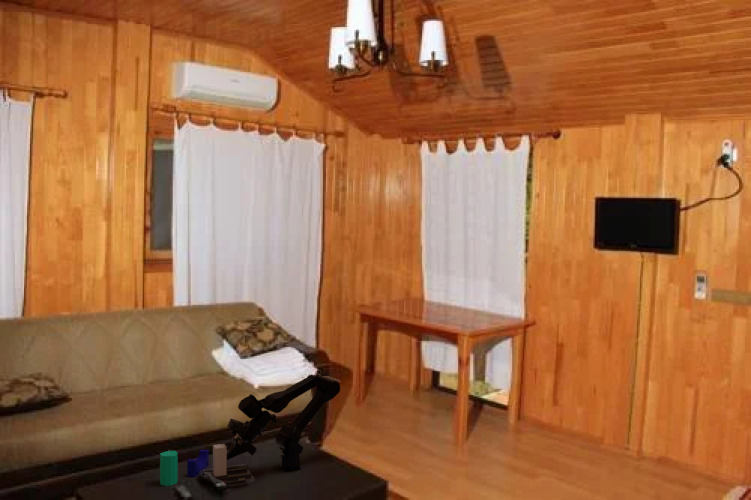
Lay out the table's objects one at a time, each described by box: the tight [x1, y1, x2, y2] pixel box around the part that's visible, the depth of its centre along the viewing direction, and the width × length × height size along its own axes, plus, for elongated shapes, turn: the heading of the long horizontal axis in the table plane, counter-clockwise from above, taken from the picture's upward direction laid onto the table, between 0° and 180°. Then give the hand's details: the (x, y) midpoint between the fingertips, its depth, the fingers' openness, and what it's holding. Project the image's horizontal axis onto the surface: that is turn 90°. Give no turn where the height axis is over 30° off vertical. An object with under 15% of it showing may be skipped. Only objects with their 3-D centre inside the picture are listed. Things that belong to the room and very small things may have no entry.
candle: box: [159, 450, 179, 487], centre depth 237 cm, size 6×6×12 cm
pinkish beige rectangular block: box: [211, 443, 228, 478], centre depth 240 cm, size 5×4×11 cm
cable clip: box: [186, 449, 210, 478], centre depth 249 cm, size 12×4×6 cm, turn 171°
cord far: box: [202, 463, 249, 473], centre depth 249 cm, size 17×3×1 cm, turn 114°
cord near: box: [228, 482, 249, 488], centre depth 235 cm, size 7×1×1 cm, turn 114°
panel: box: [210, 467, 255, 487], centre depth 241 cm, size 14×12×2 cm
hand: (226, 458), depth 240 cm, fingers closed, pressing on pinkish beige rectangular block
